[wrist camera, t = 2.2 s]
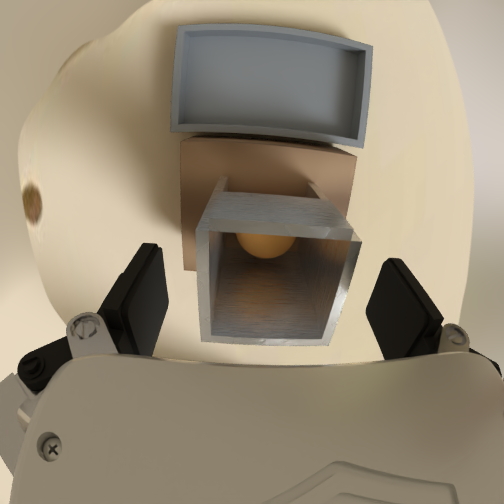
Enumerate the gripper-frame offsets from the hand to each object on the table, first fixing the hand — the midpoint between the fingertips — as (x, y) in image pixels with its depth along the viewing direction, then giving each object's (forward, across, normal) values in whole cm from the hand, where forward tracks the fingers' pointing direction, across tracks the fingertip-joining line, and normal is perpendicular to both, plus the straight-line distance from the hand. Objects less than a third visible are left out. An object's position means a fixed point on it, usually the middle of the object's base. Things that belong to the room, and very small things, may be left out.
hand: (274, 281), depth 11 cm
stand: (+14, 0, +1) cm, 14 cm away
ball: (+7, 0, +1) cm, 7 cm away
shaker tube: (+9, 0, +1) cm, 9 cm away
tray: (+14, 0, -9) cm, 17 cm away
